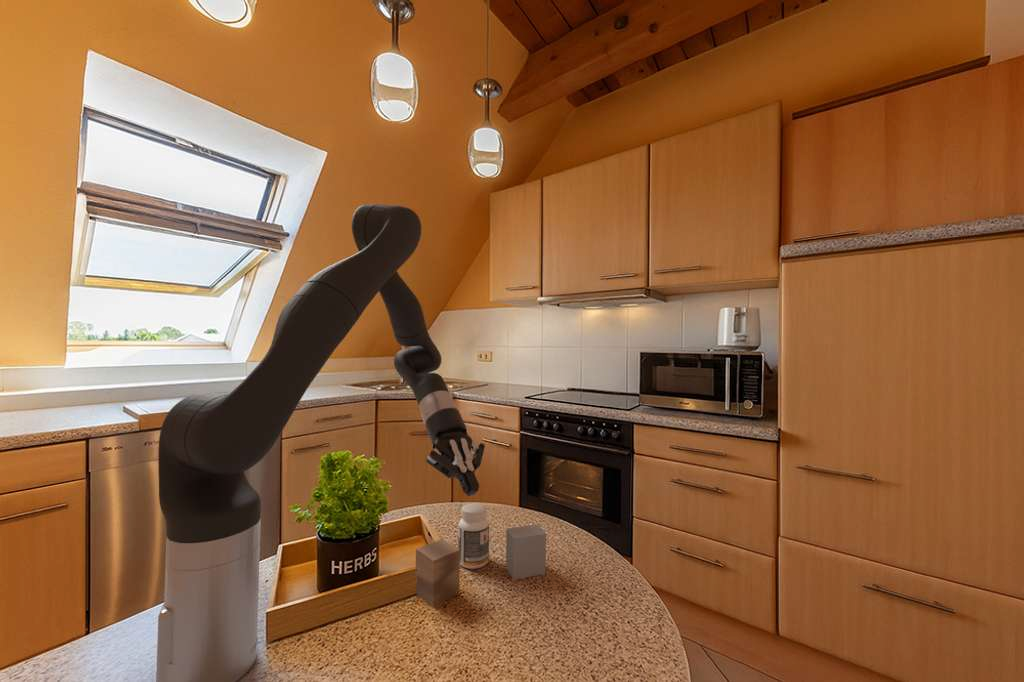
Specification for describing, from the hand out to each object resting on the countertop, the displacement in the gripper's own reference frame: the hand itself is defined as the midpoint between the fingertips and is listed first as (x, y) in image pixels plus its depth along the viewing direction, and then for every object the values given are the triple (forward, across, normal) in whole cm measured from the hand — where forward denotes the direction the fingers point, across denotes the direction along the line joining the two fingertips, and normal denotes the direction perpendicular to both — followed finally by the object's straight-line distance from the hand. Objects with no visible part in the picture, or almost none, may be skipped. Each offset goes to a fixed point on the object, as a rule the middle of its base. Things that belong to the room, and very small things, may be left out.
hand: (473, 493), depth 74 cm
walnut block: (+12, -10, +6) cm, 17 cm away
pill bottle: (+9, 0, +9) cm, 13 cm away
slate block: (+15, +6, +3) cm, 16 cm away
